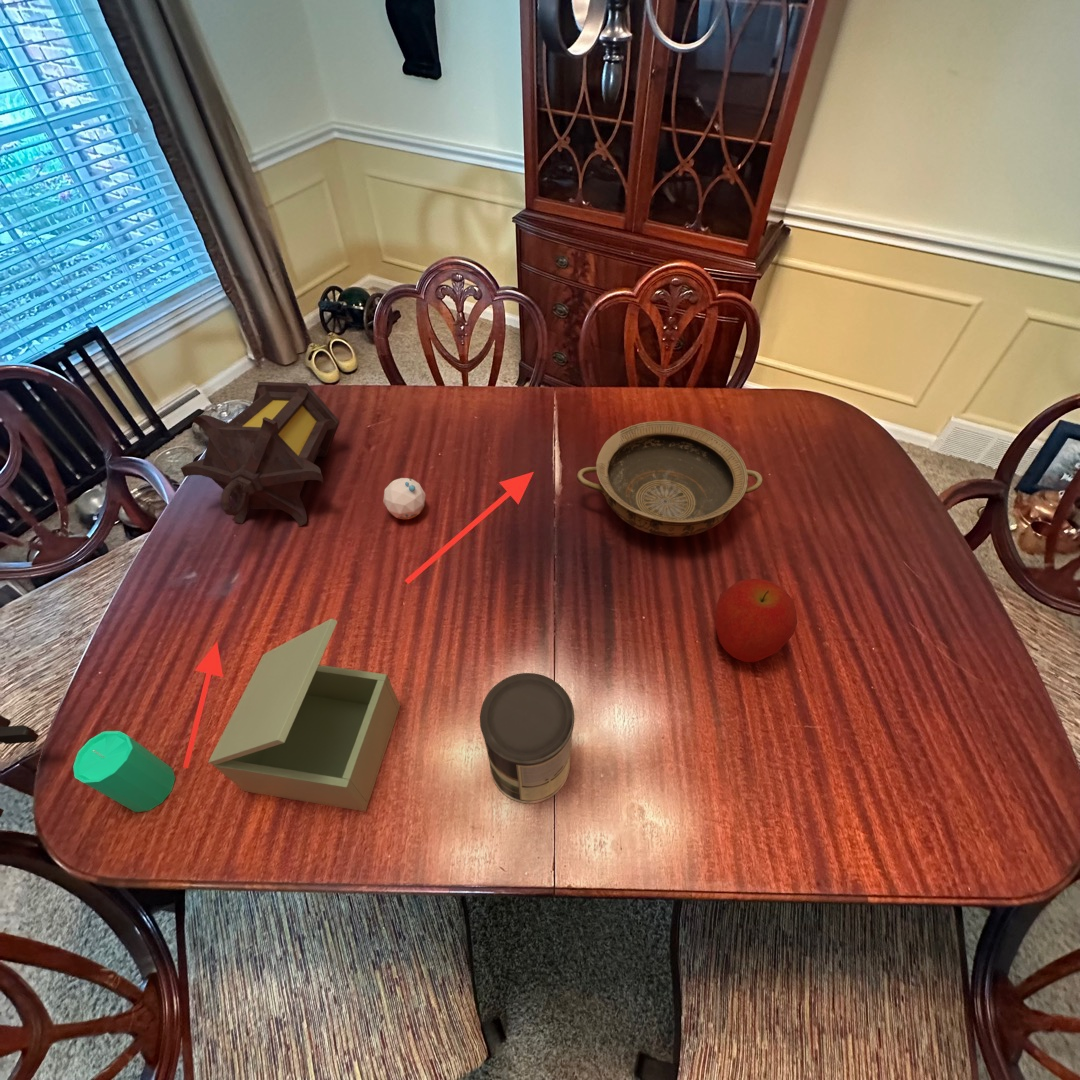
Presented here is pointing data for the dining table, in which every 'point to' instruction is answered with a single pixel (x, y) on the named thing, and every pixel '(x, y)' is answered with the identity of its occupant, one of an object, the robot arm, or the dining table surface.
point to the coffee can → (528, 736)
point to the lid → (273, 695)
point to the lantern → (267, 450)
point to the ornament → (404, 498)
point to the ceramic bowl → (670, 477)
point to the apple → (754, 619)
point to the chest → (326, 743)
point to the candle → (124, 771)
